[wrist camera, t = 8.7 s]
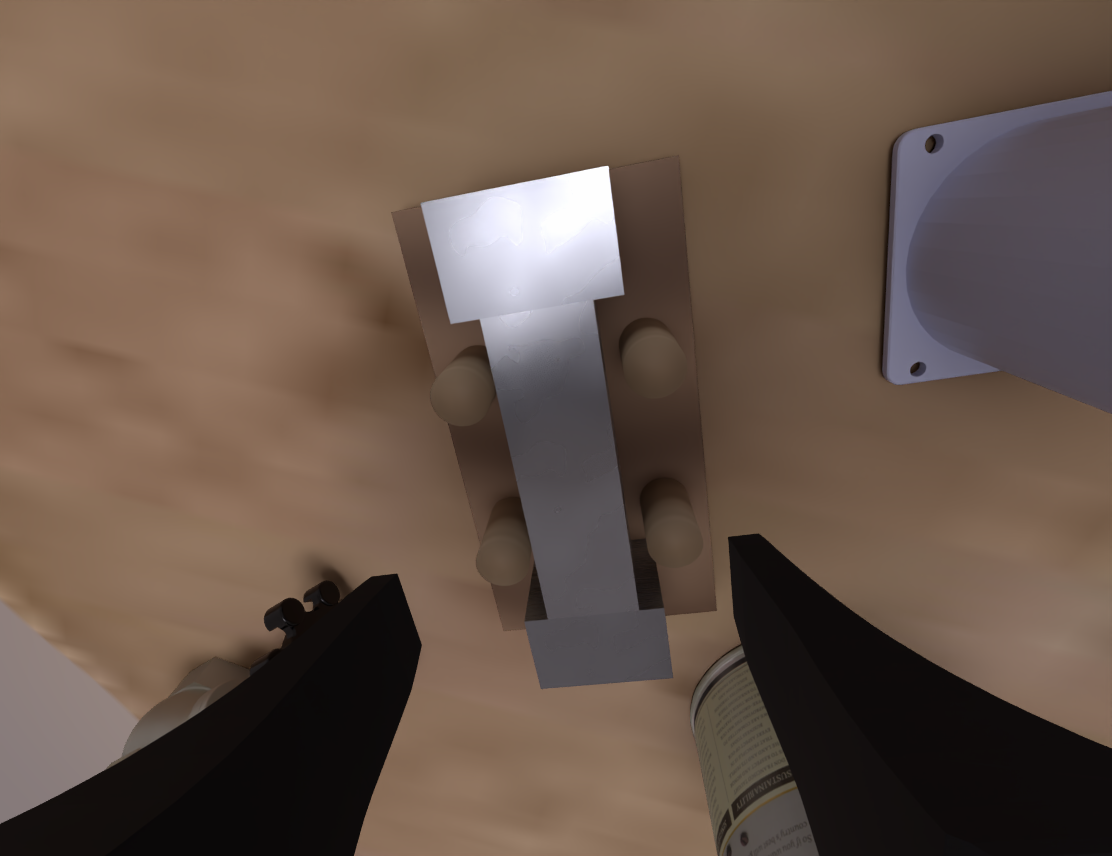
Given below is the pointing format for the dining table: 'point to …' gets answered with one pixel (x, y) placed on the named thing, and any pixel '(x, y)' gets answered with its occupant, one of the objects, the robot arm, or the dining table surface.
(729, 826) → the coffee can
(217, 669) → the valve
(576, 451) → the metal i-beam
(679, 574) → the peg rack
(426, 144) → the dining table surface
